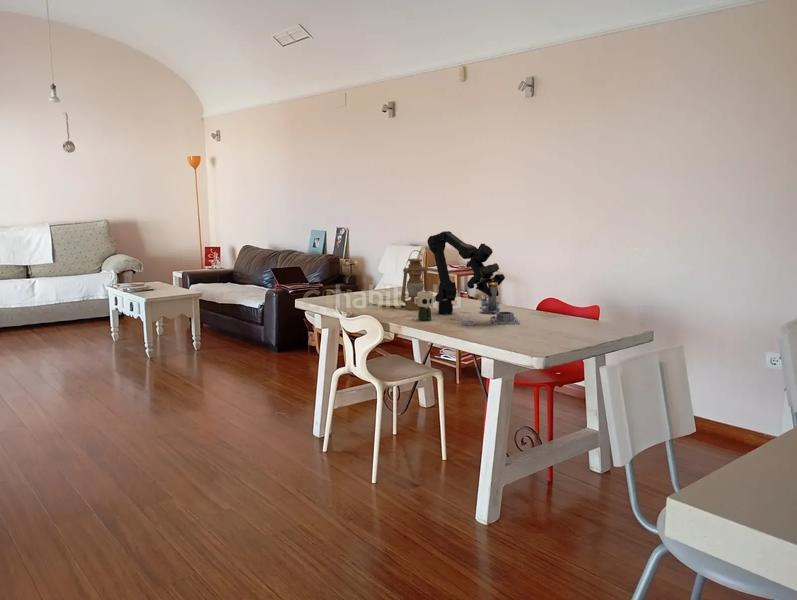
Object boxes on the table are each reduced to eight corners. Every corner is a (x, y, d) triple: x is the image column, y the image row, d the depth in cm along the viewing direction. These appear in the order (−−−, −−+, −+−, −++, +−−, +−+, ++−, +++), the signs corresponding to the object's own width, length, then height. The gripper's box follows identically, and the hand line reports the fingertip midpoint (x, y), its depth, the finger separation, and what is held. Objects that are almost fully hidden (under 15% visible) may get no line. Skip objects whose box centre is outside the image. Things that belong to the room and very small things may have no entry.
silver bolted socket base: (493, 324, 292) (493, 315, 292) (490, 318, 304) (490, 310, 303) (519, 324, 292) (520, 315, 291) (515, 319, 304) (516, 310, 303)
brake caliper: (502, 310, 313) (488, 290, 314) (484, 322, 317) (470, 302, 317) (506, 306, 324) (492, 287, 324) (488, 318, 327) (474, 299, 328)
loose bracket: (462, 325, 289) (462, 320, 288) (461, 322, 297) (461, 316, 296) (473, 325, 289) (474, 320, 288) (472, 322, 296) (472, 316, 296)
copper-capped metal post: (488, 310, 287) (488, 283, 285) (486, 309, 291) (487, 281, 289) (497, 310, 287) (498, 283, 285) (496, 309, 291) (496, 281, 289)
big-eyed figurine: (417, 322, 296) (417, 294, 294) (411, 319, 302) (411, 292, 300) (438, 320, 300) (438, 292, 298) (431, 317, 307) (431, 290, 304)
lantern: (410, 311, 322) (410, 251, 317) (397, 308, 330) (397, 250, 325) (432, 308, 332) (433, 250, 327) (419, 305, 340) (419, 248, 335)
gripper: (471, 258, 283) (488, 286, 276) (502, 256, 294) (519, 283, 287) (459, 274, 291) (475, 302, 284) (490, 271, 301) (506, 298, 294)
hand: (494, 296), depth 287 cm, fingers closed on copper-capped metal post, 4 cm apart
